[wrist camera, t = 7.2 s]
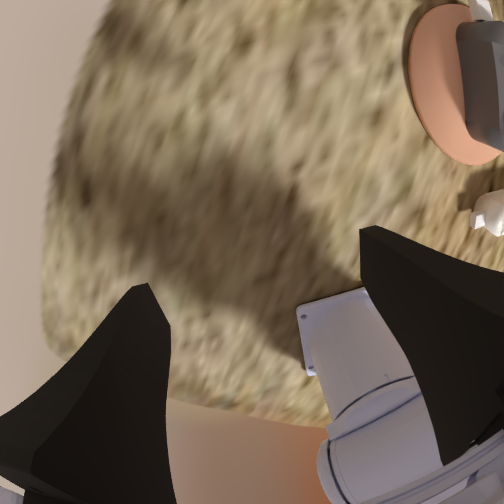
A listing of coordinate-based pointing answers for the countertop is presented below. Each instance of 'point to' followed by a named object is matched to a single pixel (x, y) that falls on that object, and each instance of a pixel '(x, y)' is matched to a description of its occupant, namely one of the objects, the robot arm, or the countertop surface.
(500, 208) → the white plug
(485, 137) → the charcoal plug
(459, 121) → the coaster
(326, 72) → the countertop surface
